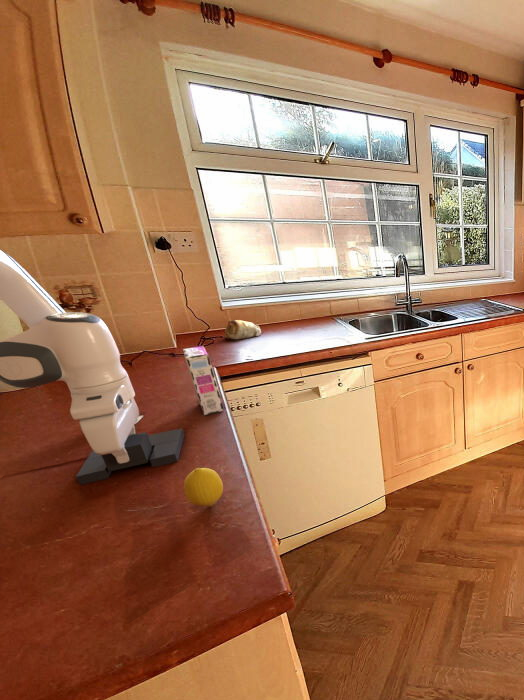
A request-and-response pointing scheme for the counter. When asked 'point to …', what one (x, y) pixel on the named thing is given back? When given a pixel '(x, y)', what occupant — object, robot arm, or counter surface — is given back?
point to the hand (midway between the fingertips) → (128, 452)
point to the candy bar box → (203, 380)
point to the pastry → (241, 330)
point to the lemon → (203, 487)
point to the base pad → (163, 453)
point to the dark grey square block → (131, 452)
